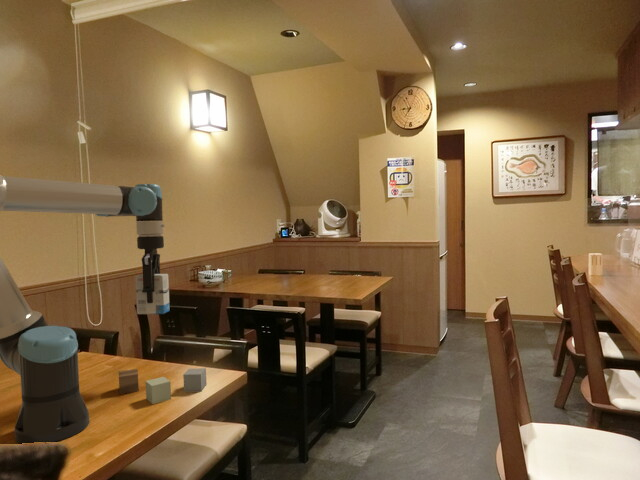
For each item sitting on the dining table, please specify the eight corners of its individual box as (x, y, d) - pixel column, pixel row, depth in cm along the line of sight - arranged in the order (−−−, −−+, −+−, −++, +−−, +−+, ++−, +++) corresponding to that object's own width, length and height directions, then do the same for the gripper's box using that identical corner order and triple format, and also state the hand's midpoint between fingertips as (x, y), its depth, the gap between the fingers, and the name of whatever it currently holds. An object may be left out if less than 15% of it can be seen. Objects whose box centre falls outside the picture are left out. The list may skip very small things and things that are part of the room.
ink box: (170, 310, 141) (169, 273, 141) (163, 314, 136) (162, 275, 136) (144, 310, 142) (142, 273, 141) (136, 314, 137) (134, 275, 136)
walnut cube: (138, 391, 130) (137, 374, 130) (119, 394, 128) (118, 376, 128) (138, 385, 135) (137, 368, 134) (119, 388, 133) (118, 371, 133)
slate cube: (201, 391, 129) (200, 374, 128) (184, 391, 129) (183, 374, 128) (206, 385, 134) (205, 368, 133) (189, 385, 134) (189, 368, 133)
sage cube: (171, 399, 124) (170, 381, 123) (152, 404, 120) (151, 385, 120) (164, 394, 127) (163, 376, 127) (146, 398, 124) (145, 380, 124)
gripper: (156, 236, 129) (160, 317, 130) (168, 234, 148) (171, 305, 149) (128, 237, 128) (132, 318, 129) (144, 234, 147) (147, 306, 148)
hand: (153, 311), depth 139 cm, fingers closed on ink box, 6 cm apart
